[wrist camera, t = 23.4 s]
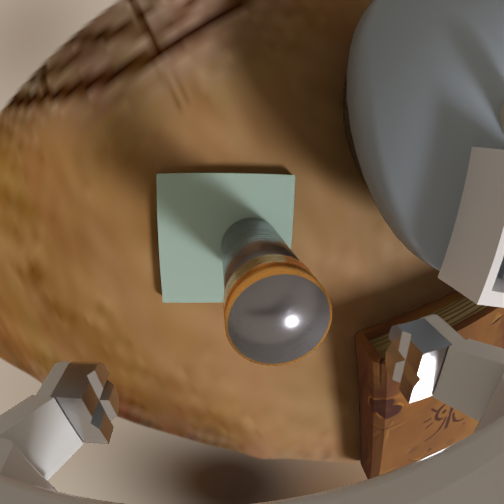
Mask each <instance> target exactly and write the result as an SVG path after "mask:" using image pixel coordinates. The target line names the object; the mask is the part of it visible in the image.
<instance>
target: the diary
mask: <svg viewBox="0 0 504 504" xmlns="http://www.w3.org/2000/svg"><path fill="white" fill-rule="evenodd" d="M432 314H435V315H438V316H439V317H440V318H442V319H443V320H444V321H445V322H446V323H447V324H448V325H450V326H451V327H452V328H453V329H454V330H455V331H456V332H457V333H459V334H460V335H461V336H462V337H463V338H464V339H465V340H467V339H472V340H476V341H479V342H482V343H486V344H489V345H493V346H496V347H500V348H503V349H504V308H501V307H493V306H485V305H477V304H476V303H474V302H473V301H471V300H470V299H468V298H467V297H466V296H464V295H463V294H461V293H460V292H458V291H455V292H453V293H451V294H449V295H447V296H444V297H442V298H440V299H438V300H436V301H433V302H431V303H429V304H427V305H424V306H422V307H420V308H418V309H415V310H413V311H410V312H408V313H406V314H403V315H401V316H398V317H396V318H393V319H391V320H388V321H386V322H383V323H381V324H378V325H376V326H373V327H370V328H368V329H365V330H362V331H360V332H357V334H356V336H355V342H356V353H357V367H358V382H359V401H360V434H361V465H362V467H363V470H364V472H365V474H366V476H367V478H368V479H370V478H373V477H376V476H379V475H382V474H385V473H388V472H391V471H393V470H396V469H399V468H401V467H404V466H406V465H409V464H411V463H414V462H416V461H418V460H421V459H423V458H425V457H428V456H430V455H432V454H434V453H436V452H438V451H441V450H443V449H445V448H447V447H449V446H451V445H453V444H455V443H457V442H459V441H460V440H462V439H464V438H466V437H468V436H470V435H471V434H473V431H474V430H475V428H476V426H477V424H478V423H479V421H477V420H475V419H473V418H471V417H469V416H467V415H465V414H464V413H462V412H460V411H458V410H456V409H454V408H452V407H451V406H449V405H447V404H445V403H443V402H441V401H439V400H438V399H436V398H434V397H433V395H432V396H430V397H427V398H424V399H421V400H418V401H415V402H412V403H408V402H407V400H406V399H405V397H404V396H403V395H402V393H401V392H400V390H399V386H400V383H399V382H397V381H394V380H392V378H391V377H390V375H389V374H388V371H387V369H386V362H385V357H386V350H387V349H388V348H389V346H390V345H391V344H392V342H391V341H390V339H389V332H390V329H391V327H392V326H394V325H398V324H402V323H406V322H410V321H413V320H417V319H420V318H422V317H425V316H429V315H432Z"/></svg>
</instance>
